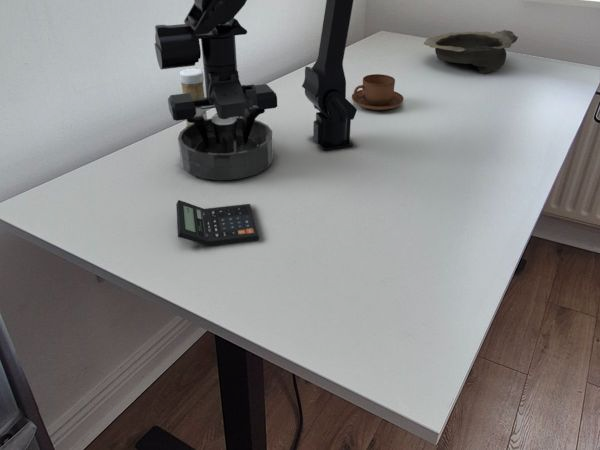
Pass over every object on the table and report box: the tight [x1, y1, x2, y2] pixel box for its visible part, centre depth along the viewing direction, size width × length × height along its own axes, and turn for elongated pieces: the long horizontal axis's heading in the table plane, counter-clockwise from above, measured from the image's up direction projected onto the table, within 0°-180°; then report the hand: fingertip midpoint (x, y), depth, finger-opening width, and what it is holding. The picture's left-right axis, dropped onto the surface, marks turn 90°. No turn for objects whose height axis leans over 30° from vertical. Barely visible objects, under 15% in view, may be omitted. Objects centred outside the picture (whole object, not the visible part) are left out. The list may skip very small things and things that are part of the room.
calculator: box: [175, 199, 260, 247], centre depth 84 cm, size 9×12×3 cm
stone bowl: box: [422, 29, 519, 74], centre depth 153 cm, size 25×25×9 cm
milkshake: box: [211, 112, 237, 153], centre depth 101 cm, size 4×5×10 cm
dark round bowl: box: [177, 117, 274, 181], centre depth 103 cm, size 17×17×6 cm
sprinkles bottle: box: [179, 68, 208, 127], centre depth 111 cm, size 5×5×14 cm
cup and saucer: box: [351, 73, 404, 111], centre depth 127 cm, size 12×12×6 cm
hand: (226, 145), depth 102 cm, fingers open, 7 cm apart
